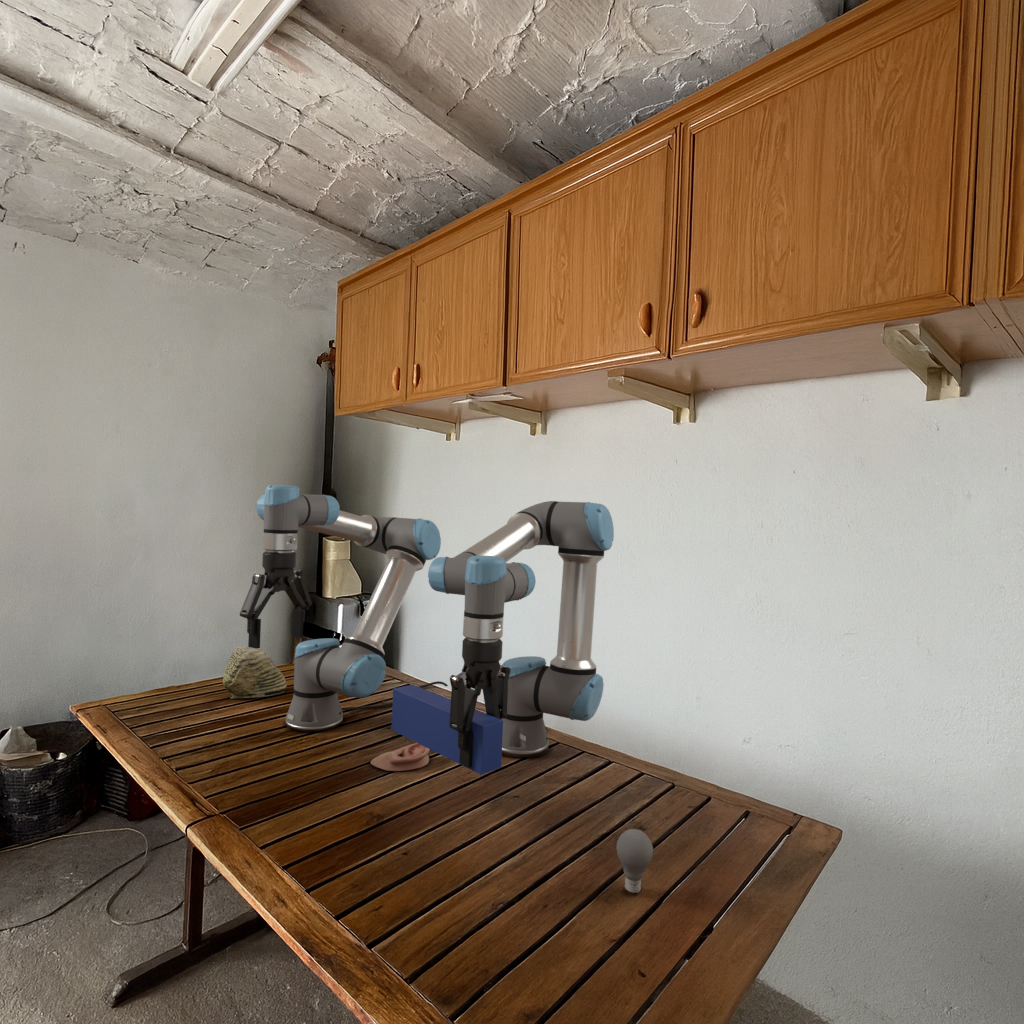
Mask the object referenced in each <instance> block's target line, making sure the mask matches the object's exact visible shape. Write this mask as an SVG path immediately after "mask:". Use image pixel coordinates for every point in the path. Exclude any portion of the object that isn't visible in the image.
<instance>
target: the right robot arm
mask: <svg viewBox="0 0 1024 1024" xmlns="http://www.w3.org/2000/svg"><path fill="white" fill-rule="evenodd" d="M614 532H615V530H614V522H613V518H612V514H611V512H610V510H609V509H608V507H607V506H606V505H604V504H602V503H597V502H590V501H586V502H584V501H583V502H582V501H558V500H548V501H542V502H539V503H536V504H533V505H530V506H528V507H526V508H524V509H521V510H520V511H518V512H516V513H515V514H513V515H511V516H510V517H509V519H508V520H507V522H506V524H505V525H503V526H501V527H500V528H498V529H496V530H495V531H493V532H492V533H491V534H489V535H487V536H486V537H484V538H483V539H481V540H479V541H478V542H476V543H475V544H473V545H471V546H469V547H468V548H467V549H465V550H464V551H462V552H460V553H459V554H456V555H455V556H453V557H449V556H437V557H435V558H433V559H432V561H431V563H430V565H429V566H428V571H427V577H428V583H429V587H430V588H431V590H434V591H435V592H440V593H444V594H446V595H450V594H451V595H458V596H464V611H463V623H462V624H463V626H462V636H463V637H464V639H462V644H461V645H462V646H461V647H462V649H461V657H462V659H463V666H462V669H461V672H460V673H458V674H457V675H455V674H451V675H450V676H449V681H450V687H451V692H450V700H451V708H450V725H449V726H450V728H452V729H454V730H457V731H458V748H460V759H459V765H460V764H461V765H460V766H462V765H463V766H462V767H464V766H465V767H464V768H466V767H467V768H466V769H468V768H471V767H472V752H473V732H472V731H470V728H471V724H472V720H473V715H474V711H475V710H476V706H477V702H478V699H479V696H480V695H481V694H482V695H483V701H484V707H485V708H484V709H485V714H488V715H490V716H493V717H496V718H498V719H501V720H503V736H502V756H506V757H510V758H516V759H528V758H529V759H530V758H536V757H540V756H542V755H544V754H546V753H547V752H549V750H550V749H549V748H550V740H549V736H548V732H547V730H548V729H547V728H548V727H547V726H546V724H545V721H544V714H546V715H552V716H557V717H561V718H566V719H569V720H571V721H581V722H587V721H590V720H591V719H592V718H593V717H594V716H595V714H596V713H597V711H598V709H599V707H600V705H601V700H602V697H603V694H604V685H605V684H604V678H603V676H602V675H600V674H599V673H597V664H596V663H595V662H594V661H593V659H592V648H593V647H592V646H593V635H594V634H593V632H594V618H595V604H596V590H597V589H596V588H597V576H598V564H599V563H600V561H602V560H603V559H604V558H605V552H606V551H609V550H611V548H612V546H613V542H614V537H615V536H614V535H615V533H614ZM536 546H552V547H557V548H558V550H557V554H558V556H559V557H560V558H561V559H562V562H563V563H562V577H561V590H560V591H561V592H560V605H559V606H560V608H559V619H558V632H557V633H558V635H557V646H556V655H555V656H554V657H553V658H552V659H551V660H550V662H549V665H547V660H546V659H545V658H544V657H542V656H533V655H532V656H531V655H530V656H529V655H528V656H517V657H513V658H509V659H506V660H504V662H503V663H502V664H501V663H500V661H501V660H502V658H503V641H502V638H503V635H504V616H505V615H504V614H505V604H506V603H510V602H514V601H520V600H522V599H524V598H527V597H529V596H530V595H531V594H532V593H533V591H534V590H535V587H536V582H537V581H536V575H535V572H534V570H533V569H532V567H530V566H529V565H528V564H526V563H524V562H516V561H513V562H512V561H511V562H509V561H510V560H511V559H513V558H515V556H517V555H518V554H519V553H521V552H522V551H524V550H531V549H533V548H536ZM464 724H465V725H464Z"/></svg>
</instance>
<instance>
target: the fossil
mask: <svg viewBox="0 0 1024 1024" xmlns="http://www.w3.org/2000/svg"><path fill="white" fill-rule="evenodd" d="M222 676H223V677H222V685H223V687H224V688H225V690H226V691H228V693H229V698H230V699H250V698H264V697H271V696H275V695H281V694H284V693H285V691H286V689H287V687H288V686H287V680H286V678H285V676H284V674H283V673H282V672H281V669H279V668H278V667H277V665H276V663H275V662H274V660H273V659H272V658H271V657H270V656H269V655H268V654H267V653H266V652H265V650H264V649H263V648H261V647H260V648H258V649H256V648H251V647H248V646H246V647H245V646H238V647H237V648H236V649H235V650H233V651H232V653H231V656H230V657H229V659H228V660H227V663H226V666H225V668H224V671H223V675H222Z"/></svg>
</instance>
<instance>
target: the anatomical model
mask: <svg viewBox="0 0 1024 1024" xmlns="http://www.w3.org/2000/svg"><path fill="white" fill-rule="evenodd" d="M430 751H431V750H430V749H428V748H426V747H424V746H422V745H420V744H418V743H416V742H415V743H412V744H408V745H405V746H403V747H399V748H398V749H394V750H391V751H387V752H384V753H381V754H380V755H377V756H376V757H374V758H373V759H371V761H370V764H371V765H372V766H373V767H375V768H378V769H380V770H383V771H387V772H400V771H401V772H402V771H411V770H415V769H421V768H423V767H425V766H427V765H428V764H429V761H430V757H429V755H428V754H429V753H430Z"/></svg>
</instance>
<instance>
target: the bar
mask: <svg viewBox="0 0 1024 1024" xmlns="http://www.w3.org/2000/svg"><path fill="white" fill-rule="evenodd" d="M392 702H393V703H392V705H391V706H392V707H391V726H390V727H391V728H390V729H391V731H392V732H395V733H396V734H399V735H401V736H402V737H405V738H407V739H409V740H410V741H412V742H415V743H418V744H420V745H422V746H424V747H426V748H428V749H430V751H432V752H435V753H436V754H438V755H441V756H442V757H444V758H446V759H448V760H451V761H453V762H454V763H456V764H459V759H460V748H458V731H457V730H454V729H452V728H450V726H449V725H450V708H451V698H447V697H445V696H443V695H440V694H437V693H435V692H432V691H430V690H427V689H425V688H420V687H418V686H417V685H414V684H409V685H405V686H398V687H394V688H392ZM464 725H465V724H464ZM470 731H472V732H473V752H472V767H471V768H467V767H465V766H463V765H461V764H459V765H460V766H462V767H464V768H466V769H469V770H470V771H472V772H474V773H476V774H479V775H480V776H482V775H486V774H488V773H490V772H492V771H495V770H496V771H497V770H498V769H501V768H502V759H503V758H502V756H503V755H502V736H503V720H501V719H498V718H496V717H493V716H490V715H488V714H486V712H483V711H480V710H478V709H475V711H474V715H473V720H472V724H471V728H470Z"/></svg>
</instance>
